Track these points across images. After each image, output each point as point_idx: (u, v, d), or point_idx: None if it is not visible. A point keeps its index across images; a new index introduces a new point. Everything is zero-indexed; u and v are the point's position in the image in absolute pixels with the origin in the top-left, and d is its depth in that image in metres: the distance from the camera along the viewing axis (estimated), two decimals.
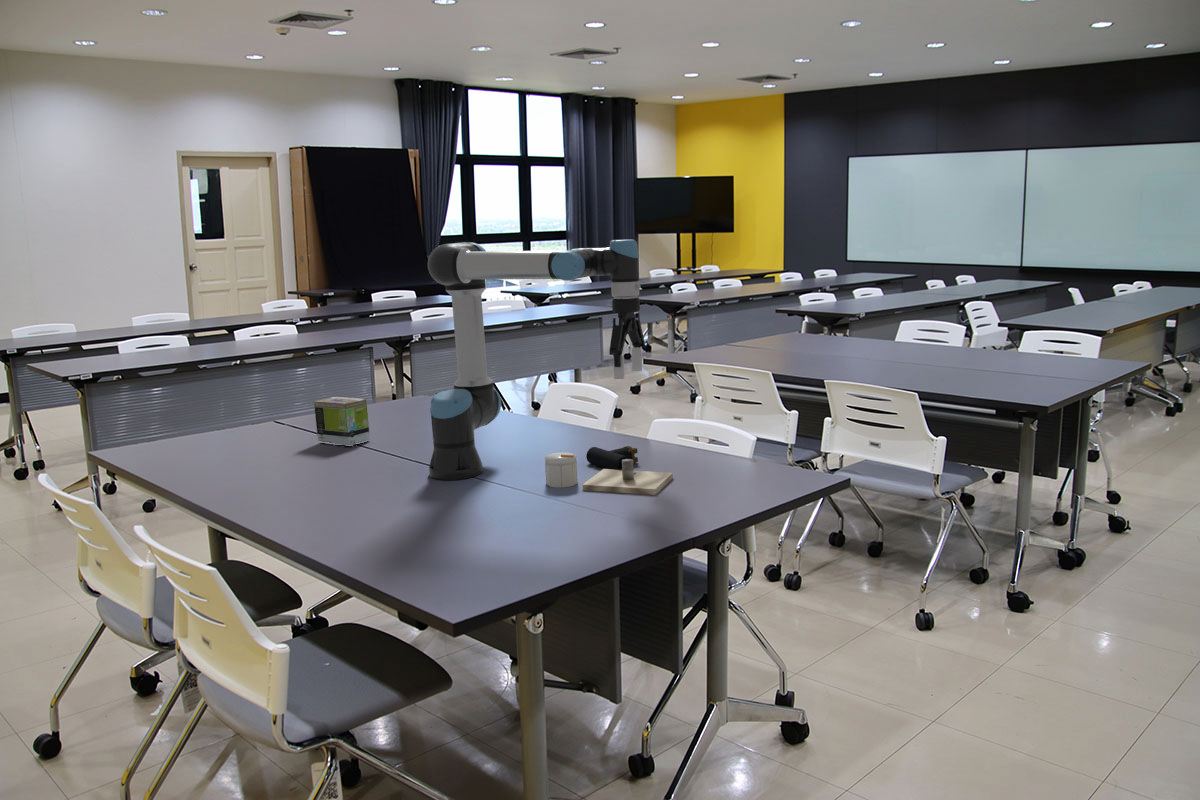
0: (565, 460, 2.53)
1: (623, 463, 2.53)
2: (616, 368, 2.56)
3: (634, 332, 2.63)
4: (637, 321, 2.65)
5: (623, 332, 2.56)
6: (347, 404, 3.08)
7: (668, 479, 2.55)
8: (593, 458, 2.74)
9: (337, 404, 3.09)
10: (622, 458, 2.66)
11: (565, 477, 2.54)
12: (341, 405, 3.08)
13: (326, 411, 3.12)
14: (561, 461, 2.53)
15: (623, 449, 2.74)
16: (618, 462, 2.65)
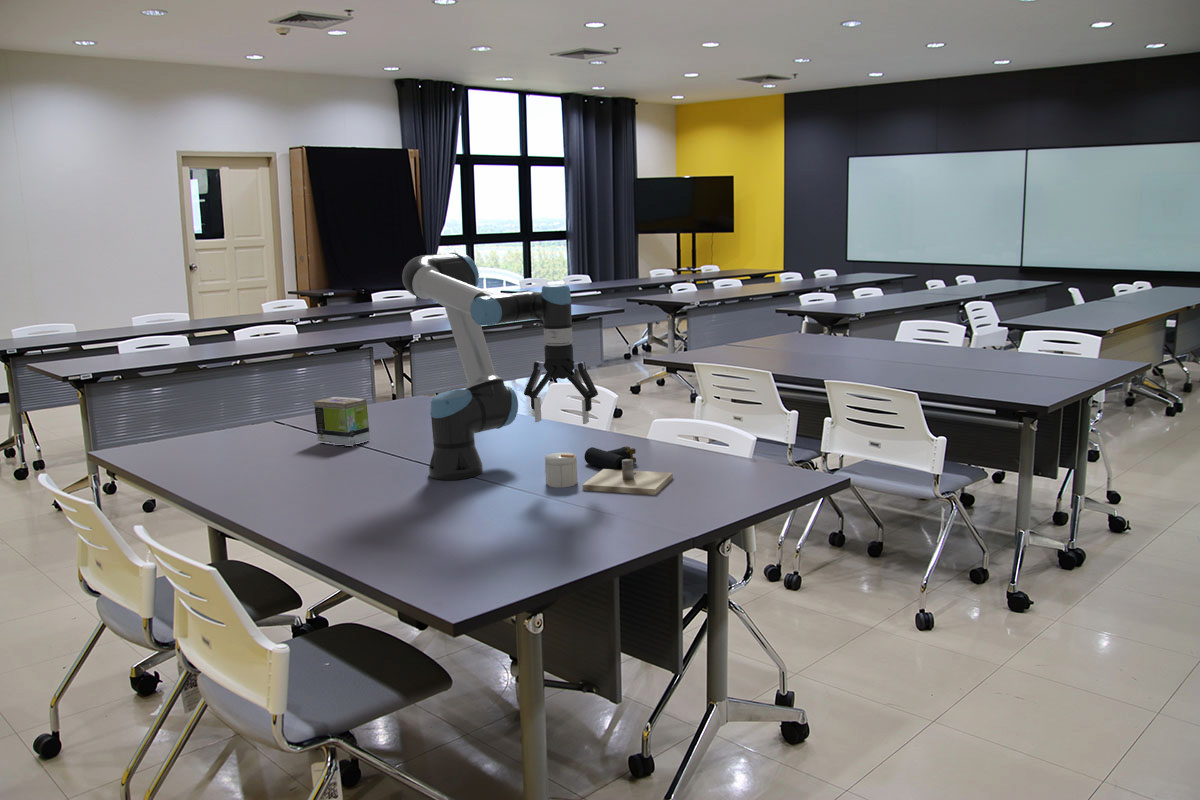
0: (565, 460, 2.53)
1: (623, 463, 2.53)
2: None
3: None
4: None
5: None
6: (347, 404, 3.08)
7: (668, 479, 2.55)
8: (591, 458, 2.74)
9: (337, 404, 3.09)
10: (620, 458, 2.65)
11: (565, 477, 2.54)
12: (341, 405, 3.08)
13: (326, 411, 3.12)
14: (561, 461, 2.53)
15: (621, 449, 2.73)
16: (616, 462, 2.65)
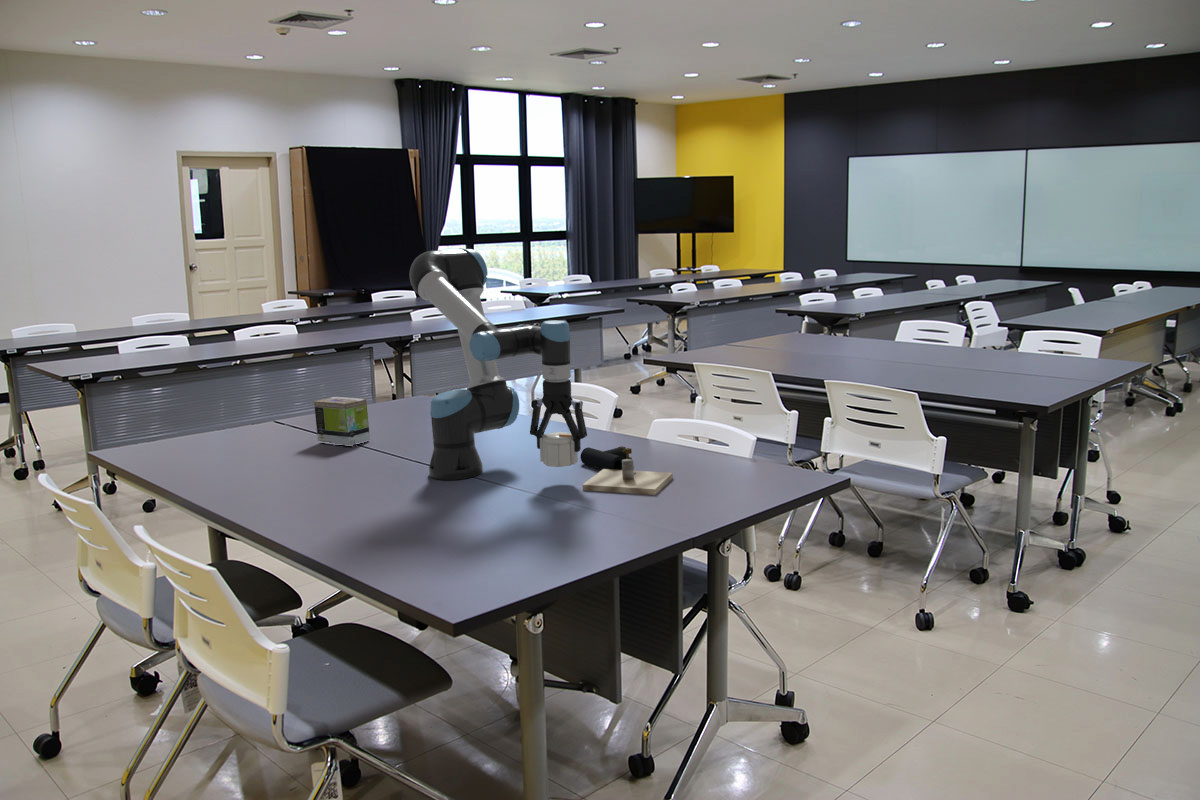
0: (563, 440, 2.53)
1: (623, 463, 2.53)
2: None
3: None
4: (575, 410, 2.52)
5: None
6: (347, 404, 3.08)
7: (668, 479, 2.55)
8: (587, 459, 2.74)
9: (337, 404, 3.09)
10: (617, 458, 2.66)
11: (562, 457, 2.54)
12: (341, 405, 3.08)
13: (326, 411, 3.12)
14: (559, 441, 2.52)
15: (617, 449, 2.74)
16: (613, 462, 2.65)
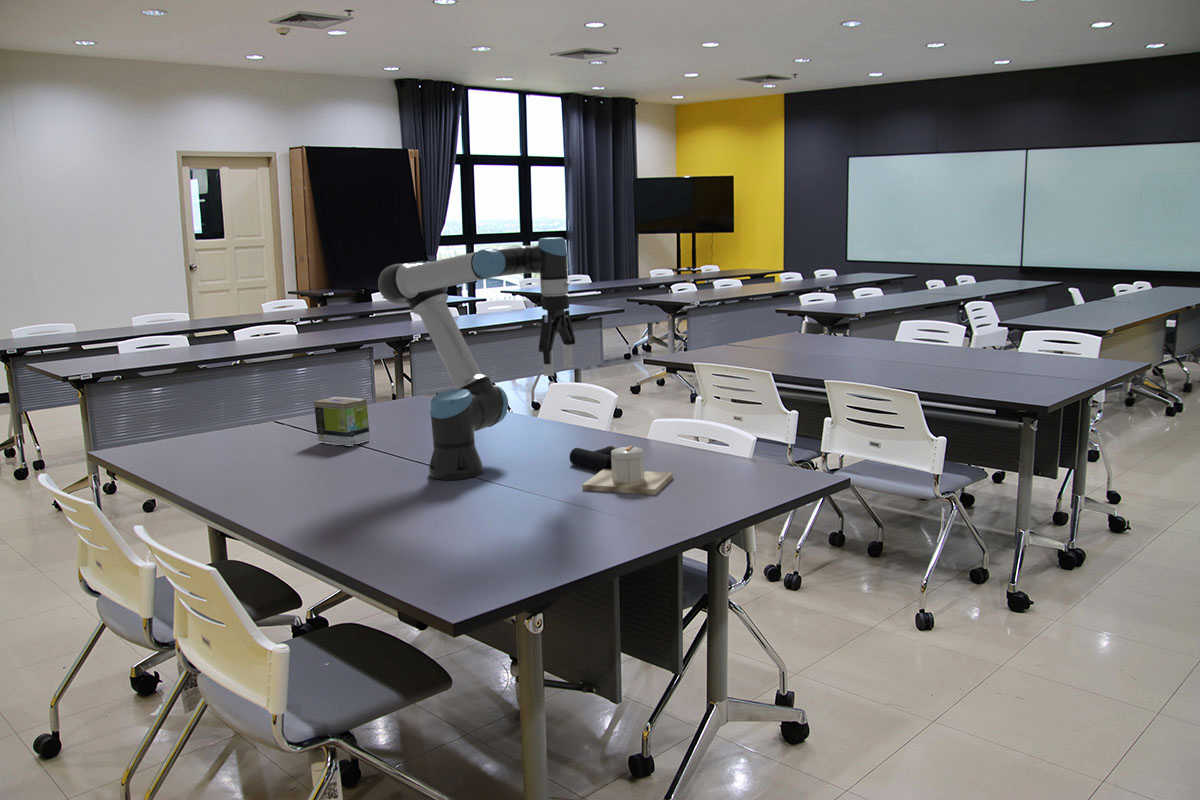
0: None
1: None
2: (546, 365, 2.58)
3: (564, 329, 2.65)
4: (567, 318, 2.67)
5: (552, 329, 2.58)
6: (347, 404, 3.08)
7: (668, 479, 2.55)
8: (577, 459, 2.74)
9: (337, 404, 3.09)
10: (609, 458, 2.66)
11: None
12: (341, 405, 3.08)
13: (326, 411, 3.12)
14: (642, 451, 2.53)
15: (607, 449, 2.75)
16: (605, 462, 2.66)
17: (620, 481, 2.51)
